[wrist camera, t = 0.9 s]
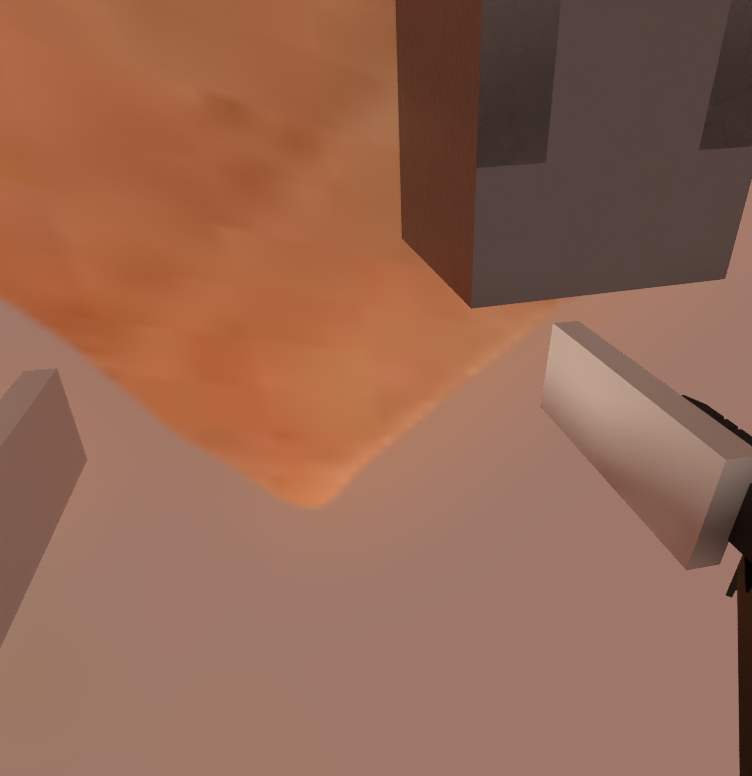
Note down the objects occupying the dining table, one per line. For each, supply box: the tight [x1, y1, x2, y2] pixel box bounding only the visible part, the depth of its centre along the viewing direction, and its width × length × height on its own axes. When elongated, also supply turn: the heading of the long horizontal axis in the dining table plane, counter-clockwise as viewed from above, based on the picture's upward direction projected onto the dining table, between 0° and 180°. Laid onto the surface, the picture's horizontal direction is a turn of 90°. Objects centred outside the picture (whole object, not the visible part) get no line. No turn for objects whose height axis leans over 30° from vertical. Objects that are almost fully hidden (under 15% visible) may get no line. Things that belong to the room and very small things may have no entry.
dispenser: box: [396, 0, 752, 308], centre depth 29 cm, size 14×13×14 cm
